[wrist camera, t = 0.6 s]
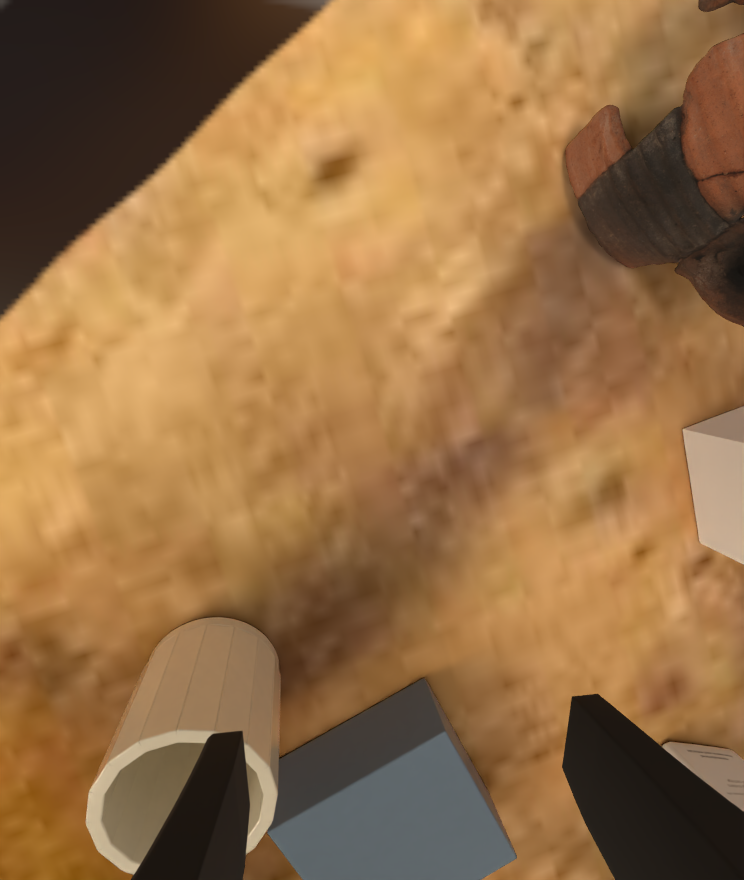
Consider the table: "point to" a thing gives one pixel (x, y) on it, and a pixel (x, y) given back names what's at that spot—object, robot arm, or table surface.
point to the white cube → (718, 481)
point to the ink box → (713, 768)
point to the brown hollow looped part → (675, 181)
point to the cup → (188, 734)
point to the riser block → (388, 800)
